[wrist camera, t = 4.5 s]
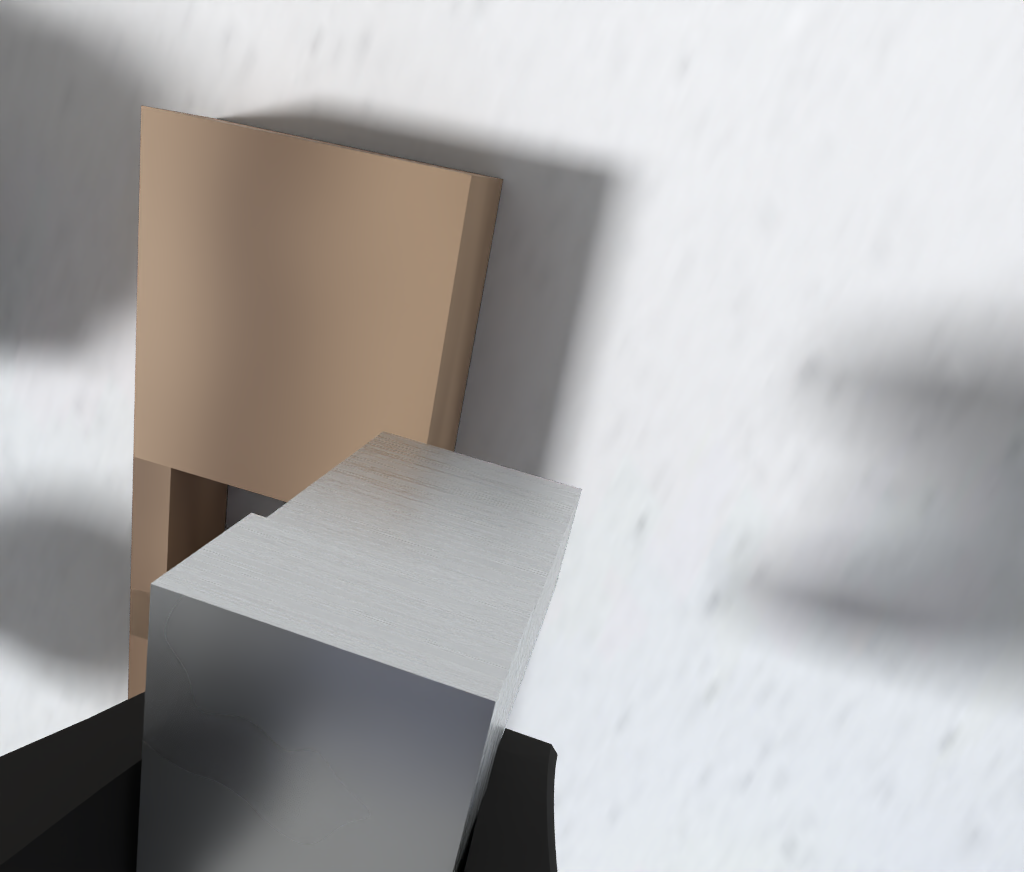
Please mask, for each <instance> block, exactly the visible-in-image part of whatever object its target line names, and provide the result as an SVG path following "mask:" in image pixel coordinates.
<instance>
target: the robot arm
mask: <svg viewBox="0 0 1024 872" xmlns="http://www.w3.org/2000/svg"><path fill="white" fill-rule="evenodd" d="M144 707H145V692H143V693H141V694H138V695H136V696H134V697H132V698H130V699H128V700H126V701H124V702H122V703H120V704H118V705H115V706H113V707H111V708H109V709H107V710H105V711H103V712H101V713H99V714H97V715H95V716H92V717H90V718H88V719H86V720H84V721H81V722H79V723H77V724H74V725H72V726H70V727H68V728H65V729H63V730H61V731H58V732H56V733H54V734H52V735H49V736H47V737H45V738H42V739H40V740H38V741H35V742H33V743H31V744H29V745H26V746H24V747H22V748H19V749H17V750H15V751H12V752H10V753H8V754H6V755H3V756H1V757H0V872H136V867H137V847H138V827H139V807H140V787H141V767H142V747H143V727H144ZM556 760H557V753H556V751H555V750H554V748H553V746H552V744H549V743H546V742H543V741H541V740H538V739H535V738H532V737H529V736H526V735H523V734H521V733H518V732H515V731H512V730H509V729H506V728H505V731H504V733H503V735H502V738H501V740H500V742H499V745H498V748H497V751H496V755H495V759H494V762H493V766H492V770H491V774H490V778H489V782H488V785H487V789H486V791H485V794H484V797H483V799H482V802H481V805H480V808H479V811H478V815H477V819H476V823H475V827H474V831H473V835H472V839H471V842H470V846H469V850H468V854H467V858H466V862H465V866H464V870H463V872H557V863H556V849H555V830H554V779H555V767H556Z"/></svg>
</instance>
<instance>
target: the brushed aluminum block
mask: <svg viewBox="0 0 1024 872" xmlns="http://www.w3.org/2000/svg"><path fill="white" fill-rule="evenodd" d="M581 491H582V489H579V488H576V487H572V486H569V485H565V484H562V483H559V482H555V481H552V480H548V479H545V478H541V477H538V476H535V475H531V474H528V473H524V472H521V471H517V470H514V469H511V468H507V467H504V466H500V465H497V464H493V463H490V462H487V461H483V460H480V459H476V458H473V457H470V456H466V455H463V454H459V453H456V452H452V451H449V450H446V449H442V448H439V447H435V446H432V445H428V444H425V443H422V442H418V441H415V440H411V439H408V438H404V437H401V436H398V435H394V434H391V433H387V432H384V431H383V432H382V433H380V434H379V435H378V436H376V437H375V438H374V439H372V440H371V441H369V442H368V443H367V444H365V445H364V446H363V447H361V448H360V449H359V450H357V451H356V452H355V453H353V454H352V455H351V456H349V457H348V458H346V459H345V460H344V461H342V462H341V463H340V464H338V465H337V466H336V467H334V468H333V469H332V470H330V471H329V472H328V473H326V474H325V475H323V476H322V477H321V478H319V479H318V480H317V481H315V482H314V483H313V484H311V485H310V486H309V487H307V488H306V489H305V490H303V491H302V492H300V493H299V494H298V495H296V496H295V497H294V498H292V499H291V500H290V501H288V502H287V503H286V504H284V505H283V506H282V507H280V508H279V509H277V510H276V511H275V512H273V513H272V514H271V515H269V516H268V517H263V516H260V515H257V514H254V513H250V514H249V515H248V516H246V517H245V518H243V519H242V520H240V521H239V522H238V523H236V524H235V525H233V526H232V527H230V528H229V529H228V530H226V531H225V532H223V533H222V534H220V535H219V536H218V537H216V538H215V539H213V540H212V541H211V542H209V543H208V544H206V545H205V546H203V547H202V548H201V549H199V550H198V551H196V552H195V553H193V554H192V555H191V556H189V557H188V558H186V559H185V560H183V561H182V562H181V563H179V564H178V565H176V566H175V567H174V568H172V569H171V570H169V571H168V572H166V573H165V574H164V575H162V576H161V577H159V578H158V579H156V580H155V581H154V582H152V583H151V586H150V606H149V626H148V646H147V666H146V687H145V707H144V727H143V747H142V767H141V787H140V807H139V827H138V847H137V867H136V872H463V870H464V866H465V862H466V858H467V854H468V850H469V846H470V842H471V839H472V835H473V831H474V827H475V823H476V819H477V815H478V811H479V808H480V805H481V802H482V799H483V797H484V794H485V791H486V789H487V785H488V782H489V778H490V774H491V770H492V766H493V762H494V759H495V755H496V751H497V748H498V745H499V742H500V739H501V737H502V734H503V731H504V728H505V725H506V723H507V720H508V717H509V714H510V712H511V709H512V706H513V703H514V701H515V698H516V695H517V692H518V689H519V687H520V684H521V681H522V678H523V676H524V673H525V670H526V667H527V665H528V662H529V659H530V656H531V653H532V651H533V648H534V645H535V642H536V640H537V637H538V634H539V631H540V629H541V626H542V623H543V620H544V617H545V615H546V612H547V609H548V606H549V604H550V601H551V598H552V595H553V593H554V590H555V587H556V584H557V580H558V576H559V572H560V569H561V565H562V561H563V558H564V554H565V550H566V546H567V543H568V539H569V535H570V532H571V528H572V524H573V520H574V517H575V513H576V509H577V506H578V502H579V498H580V494H581Z"/></svg>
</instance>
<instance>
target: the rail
mask: <svg viewBox="0 0 1024 872" xmlns="http://www.w3.org/2000/svg"><path fill="white" fill-rule="evenodd" d="M502 182H503V179H499V178H495V177H490V176H485V175H480V174H476V173H471V172H466V171H461V170H457V169H452V168H447V167H442V166H438V165H433V164H428V163H423V162H419V161H414V160H409V159H404V158H400V157H395V156H390V155H385V154H381V153H376V152H371V151H366V150H362V149H357V148H352V147H347V146H343V145H338V144H333V143H328V142H324V141H319V140H314V139H309V138H305V137H300V136H295V135H290V134H286V133H281V132H276V131H271V130H267V129H262V128H257V127H252V126H248V125H243V124H238V123H233V122H229V121H224V120H219V119H214V118H209V117H203V116H198V115H192V114H186V113H181V112H175V111H169V110H164V109H158V108H153V107H147V106H141V139H140V184H139V229H138V274H137V319H136V364H135V409H134V454H133V500H132V545H131V590H130V635H129V680H128V699H130V698H132V697H134V696H136V695H138V694H141V693H143V692H145V687H146V666H147V646H148V626H149V606H150V586H151V583H152V582H154V581H155V580H156V579H158V578H159V577H161V576H162V575H164V574H165V573H166V572H168V571H169V570H171V569H172V568H174V567H175V566H176V565H178V564H179V563H181V562H182V561H183V560H185V559H186V558H188V557H189V556H191V555H192V554H193V553H195V552H196V551H198V550H199V549H201V548H202V547H203V546H205V545H206V544H208V543H209V542H211V541H212V540H213V539H215V538H216V537H218V536H219V535H220V534H222V533H223V532H224V531H225V517H226V503H227V488H228V485H231V486H234V487H237V488H241V489H244V490H247V491H251V492H254V493H258V494H261V495H264V496H268V497H271V498H274V499H278V500H281V501H284V502H288V501H290V500H291V499H292V498H294V497H295V496H296V495H298V494H299V493H300V492H302V491H303V490H305V489H306V488H307V487H309V486H310V485H311V484H313V483H314V482H315V481H317V480H318V479H319V478H321V477H322V476H323V475H325V474H326V473H328V472H329V471H330V470H332V469H333V468H334V467H336V466H337V465H338V464H340V463H341V462H342V461H344V460H345V459H346V458H348V457H349V456H351V455H352V454H353V453H355V452H356V451H357V450H359V449H360V448H361V447H363V446H364V445H365V444H367V443H368V442H369V441H371V440H372V439H374V438H375V437H376V436H378V435H379V434H380V433H382V432H383V431H384V432H387V433H391V434H394V435H398V436H401V437H404V438H408V439H411V440H415V441H418V442H422V443H425V444H428V445H432V446H435V447H439V448H442V449H446V450H449V451H452V452H454V449H455V443H456V438H457V432H458V427H459V421H460V416H461V410H462V404H463V399H464V393H465V388H466V382H467V377H468V371H469V366H470V360H471V354H472V349H473V343H474V338H475V332H476V327H477V321H478V316H479V310H480V305H481V299H482V293H483V288H484V282H485V277H486V271H487V266H488V260H489V255H490V249H491V243H492V238H493V232H494V227H495V221H496V216H497V210H498V205H499V199H500V194H501V188H502Z"/></svg>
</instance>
